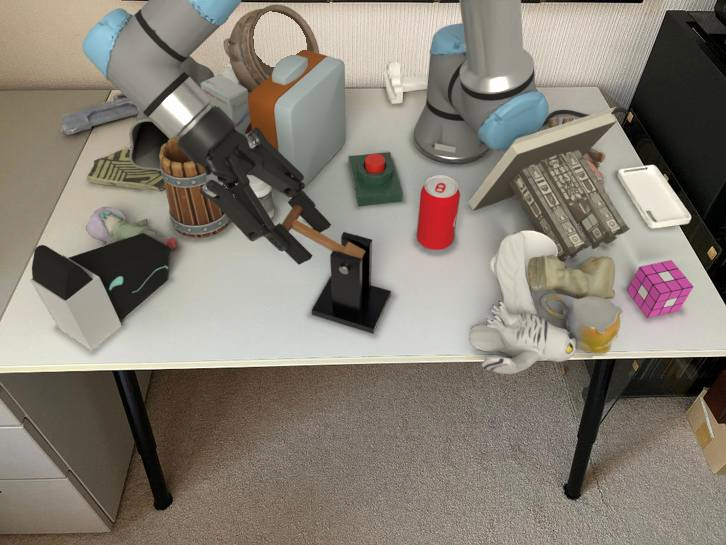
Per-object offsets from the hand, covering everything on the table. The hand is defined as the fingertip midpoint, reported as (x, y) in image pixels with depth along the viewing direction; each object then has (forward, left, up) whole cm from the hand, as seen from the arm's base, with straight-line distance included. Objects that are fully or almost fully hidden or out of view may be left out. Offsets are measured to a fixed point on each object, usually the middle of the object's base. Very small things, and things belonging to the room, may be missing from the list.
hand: (315, 244), depth 89 cm
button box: (-13, -26, -11) cm, 31 cm away
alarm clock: (-1, -34, -11) cm, 35 cm away
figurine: (-53, -26, -11) cm, 60 cm away
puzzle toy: (-51, +9, -12) cm, 53 cm away
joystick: (-21, -55, -8) cm, 59 cm away
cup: (-32, +1, -11) cm, 34 cm away
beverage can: (-21, -9, -12) cm, 26 cm away
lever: (-1, 0, 0) cm, 1 cm away
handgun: (+40, -65, -9) cm, 77 cm away
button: (-13, -26, -8) cm, 30 cm away
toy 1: (+23, -12, -10) cm, 28 cm away
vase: (+20, -62, -6) cm, 65 cm away
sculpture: (-44, +6, -9) cm, 46 cm away
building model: (-39, -16, -1) cm, 43 cm away
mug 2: (-36, +13, -4) cm, 38 cm away
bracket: (-5, +3, -11) cm, 13 cm away
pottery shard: (+32, -33, -11) cm, 47 cm away
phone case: (-62, -6, -10) cm, 63 cm away
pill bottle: (+8, -20, -12) cm, 25 cm away
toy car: (+11, -62, -12) cm, 64 cm away
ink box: (+12, -44, -11) cm, 47 cm away
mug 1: (+17, -23, -12) cm, 31 cm away
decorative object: (+30, -4, -12) cm, 33 cm away
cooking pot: (+7, -63, -7) cm, 64 cm away
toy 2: (-22, +12, -1) cm, 25 cm away
